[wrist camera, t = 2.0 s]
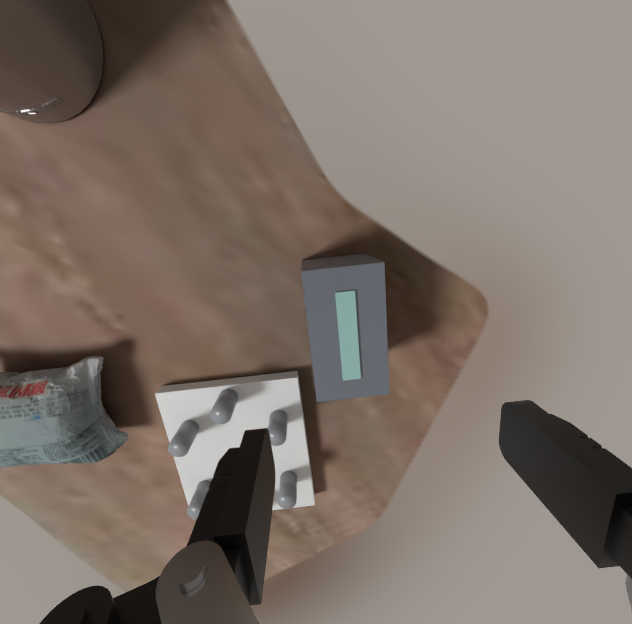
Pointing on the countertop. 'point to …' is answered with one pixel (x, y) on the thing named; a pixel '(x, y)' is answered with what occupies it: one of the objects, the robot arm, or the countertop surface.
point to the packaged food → (56, 416)
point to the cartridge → (347, 325)
